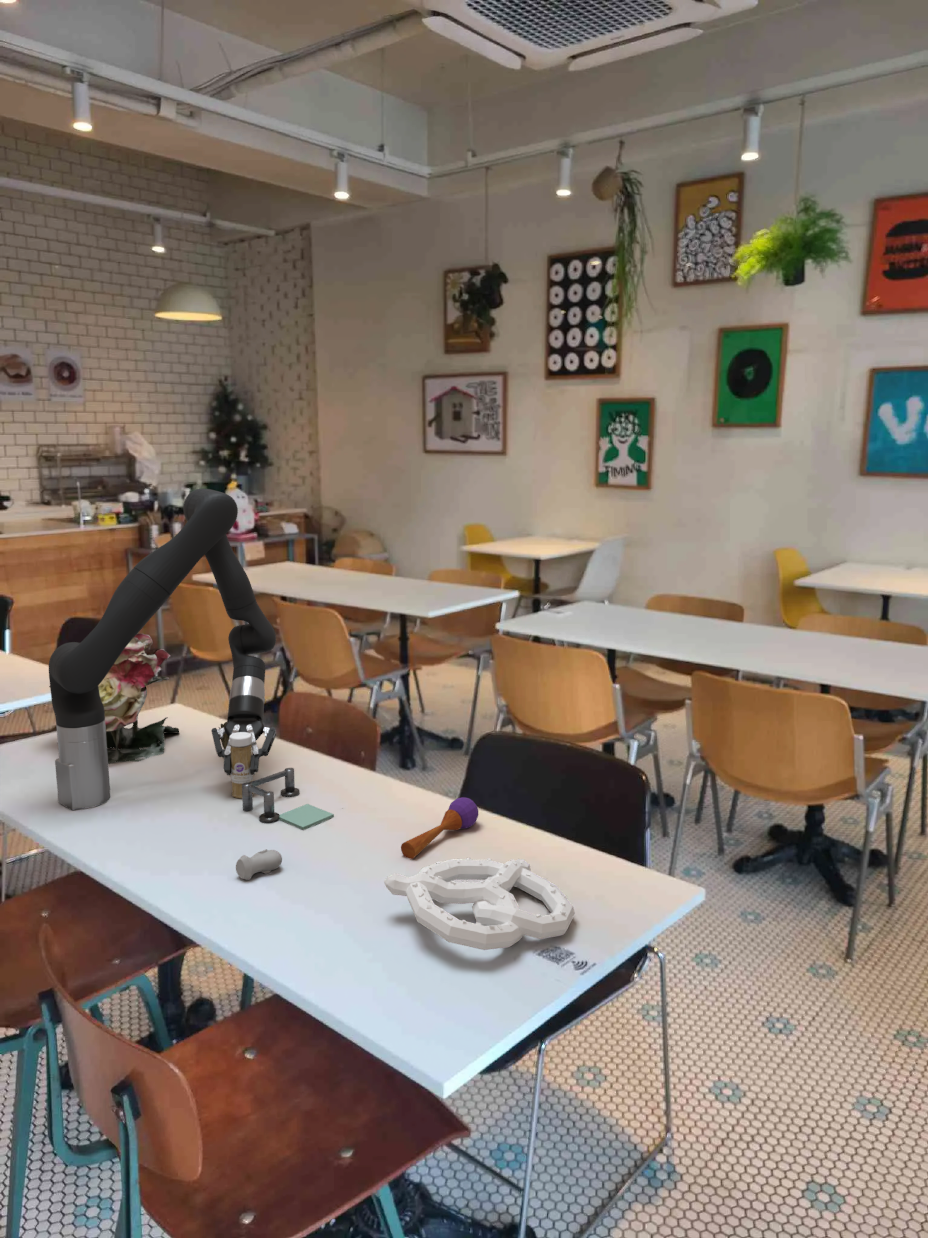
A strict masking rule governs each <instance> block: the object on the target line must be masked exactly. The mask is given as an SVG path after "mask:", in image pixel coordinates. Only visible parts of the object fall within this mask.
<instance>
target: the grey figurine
mask: <svg viewBox="0 0 928 1238" xmlns="http://www.w3.org/2000/svg"><path fill="white" fill-rule="evenodd" d="M282 862H283V856H282V854H281V853H280V852H279V851H278V850H275V849H263V850H259V851H258V852H256V853H255V854H253V855H252V856H251V857H249V856H247V855H246V854H242V855H241V856H240V857H239V859H238V860H237V861H236V863H235V871H236V874H237V875H238V877H239V878H240V879H243V880H244V881H250V880H251V879H252V877H253V875H254V874H256V873H263V874H269V873H271V871H275V870H276V869H278V868H279V867H280V866H281V865H282Z"/></svg>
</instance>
